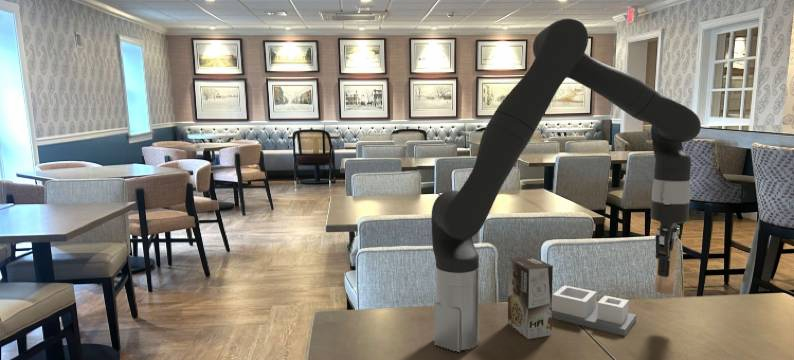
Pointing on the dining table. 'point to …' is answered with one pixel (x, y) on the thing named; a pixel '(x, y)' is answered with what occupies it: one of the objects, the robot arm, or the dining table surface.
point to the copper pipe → (668, 283)
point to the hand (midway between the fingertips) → (665, 273)
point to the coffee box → (530, 296)
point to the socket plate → (592, 310)
